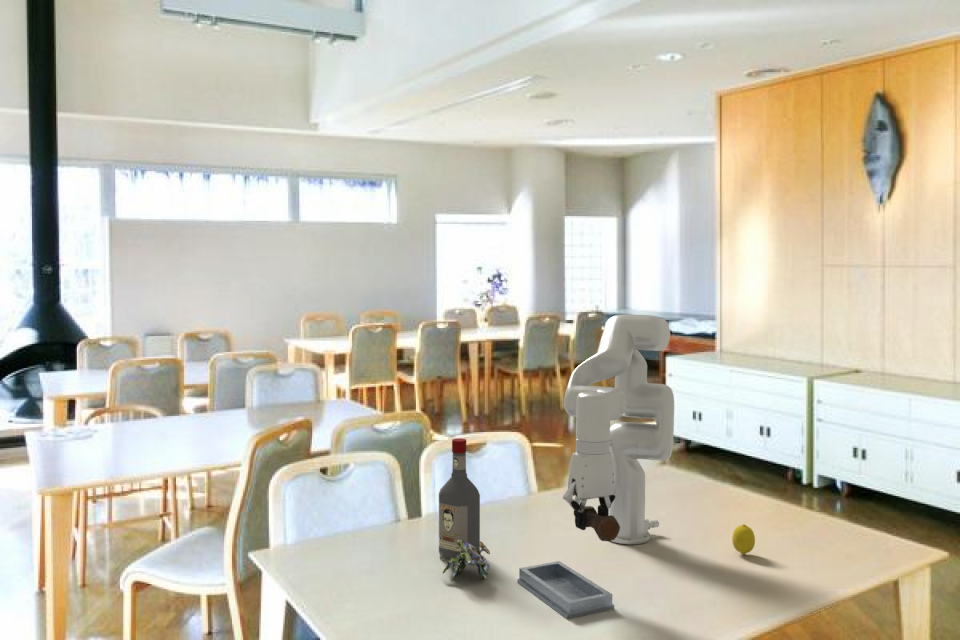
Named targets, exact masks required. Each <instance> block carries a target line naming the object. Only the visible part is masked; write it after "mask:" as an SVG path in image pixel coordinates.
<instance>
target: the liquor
mask: <svg viewBox="0 0 960 640" xmlns="http://www.w3.org/2000/svg"><path fill="white" fill-rule="evenodd" d="M451 452H452V465H451V466H452V471H451V475H450V477H449V479H448V480H447V481H446V483H444V485H443V486H442V487H441V488H440V490H439V491H438V553H439V554H440V553H442V554H443V556H442V557H443V558H445V559H446V560H447V561H450V559H451V558H454V559H455V558H456V556H457V555H458V554H459V555H460V552H461V548H460V547H459V545H458V544H457V541H458V540H461V541H462V543H463V544H464V543H465V541H466V542H467V543H468V542H469V544H471V545H472V546H473V545H474V547H475V548H476V550H477V551H480V550H481V547H480V544H479V542H480V541H481V539H480V537H481V534H480V533H481V525H480V523H481V520H480V519H481V513H480V512H481V502H480V501H481V495H480V492H479V489H478V487H476V485H475V484H474V483H473V482H472V481H471V480H470V479H469V477H468V473H467V457H466V456H467V439H466V438H459V437H458V438H456V437H455V438H452V440H451ZM443 558H442V560H444V559H443ZM446 560H445V561H446Z"/></svg>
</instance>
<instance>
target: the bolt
mask: <svg viewBox="0 0 960 640" xmlns="http://www.w3.org/2000/svg"><path fill="white" fill-rule="evenodd" d="M584 512H585V513H586V528H592V529H593V530H594V532H595V534H596V536H597V537H598V539H599V540H600V541H602V542H612V541H611V540H614V539H615V538H616V537H617V535H618V533H619V530H620V526H619V523H618V522H617V520H616V519H615V517H614V516H612V515H611V516H600V515H598V511H597V509H595V508H594V506H591V505H590V506H589V505H585V508H584ZM573 516H574V517H575V510H574V509H573Z"/></svg>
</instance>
